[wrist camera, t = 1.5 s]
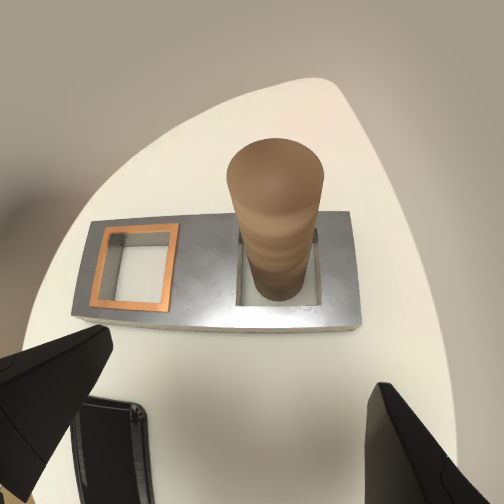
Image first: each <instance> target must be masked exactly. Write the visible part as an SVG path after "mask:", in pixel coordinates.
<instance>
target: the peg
mask: <svg viewBox="0 0 504 504" xmlns="http://www.w3.org/2000/svg"><path fill="white" fill-rule="evenodd" d="M323 181H324V171H323V167H322V164H321V162H320V160H319V159H318V157H317V156H316V155H315V154H314V153H313V152H312V151H311V150H310V149H309V148H307V147H306V146H304V145H302V144H300V143H298V142H295V141H292V140H288V139H280V138H271V139H264V140H259V141H256V142H254V143H251V144H249V145H247V146H246V147H244V148H243V149H241V150H240V151H239V152H238V153H237V154H236V155H235V156H234V157H233V158H232V160H231V162H230V164H229V166H228V169H227V184H228V187H229V191H230V195H231V199H232V202H233V206H234V210H235V213H236V217H237V221H238V224H239V228H240V232H241V235H242V239H243V243H244V246H245V250H246V254H247V257H248V261H249V265H250V268H251V272H252V276H253V279H254V283H255V286H256V288H257V290H258V291H259V293H260V294H261V295H262V296H264V297H265V298H267V299H270V300H273V301H285V300H288V299H290V298H292V297H294V296H295V295H296V294H297V293H298V292H299V291H300V289H301V287H302V285H303V281H304V277H305V272H306V268H307V263H308V258H309V254H310V249H311V244H312V239H313V234H314V229H315V224H316V219H317V214H318V208H319V203H320V198H321V192H322V187H323Z"/></svg>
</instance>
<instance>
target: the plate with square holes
mask: <svg viewBox="0 0 504 504" xmlns="http://www.w3.org/2000/svg"><path fill="white" fill-rule="evenodd" d="M312 242H314V248H315V264H316V282H317V305H318V306H240V304H241V277H242V252H243V244H244V243H243V239H242V235H241V232H240V228H239V224H238V221H237V217H236V213H224V214H200V215H179V216H161V217H145V218H130V219H117V220H104V221H92V222H91V224H90V228H89V232H88V235H87V239H86V243H85V247H84V251H83V255H82V260H81V264H80V269H79V273H78V278H77V283H76V288H75V294H74V299H73V305H72V312H71V315H72V316H74V317H77V318H79V319H82V320H84V321H87V322H94V323H102V324H111V325H120V326H130V327H141V328H153V329H167V330H183V331H203V332H232V333H302V332H331V331H351V330H355V329H356V328H358V327H359V326H361V325H362V322H361V307H360V294H359V283H358V273H357V264H356V255H355V247H354V239H353V232H352V225H351V218H350V212H349V211H318V214H317V219H316V224H315V229H314V234H313V239H312ZM156 245H169V246H168V253H167V260H166V267H165V274H164V282H163V290H162V299H161V303H143V302H125V301H114V295H115V289H116V283H117V277H118V271H119V266H120V261H121V256H122V251H123V246H156Z"/></svg>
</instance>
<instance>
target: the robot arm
mask: <svg viewBox="0 0 504 504" xmlns="http://www.w3.org/2000/svg"><path fill="white" fill-rule="evenodd" d="M112 351H113V342H112V338H111V334H110V330H109V328H108V327H106V326H103V325H95V326H92V327H89V328H87V329H84V330H81V331H78V332H76V333H73V334H70V335H67V336H64V337H62V338H59V339H56V340H53V341H50V342H47V343H45V344H42V345H39V346H36V347H33V348H30V349H27V350H25V351H22V352H19V353H18V354H17V353H16V354H13V355H10V356H7V357H4V358H1V359H0V490H1V489H2V487H5V488H6V489H7V490H8V491H10V492H11V493H12V494H13V495H15V496H16V497H17V498H19V499H20V500H21V501H23V502H24V503H26V502H27V500H28V499H29V497H30V495H31V493H32V491H33V489H34V487H35V485H36V483H37V482H38V480H39V478H40V476H41V474H42V472H43V471H44V469H45V467H46V464H47V463H48V461H49V460H50V458H51V456H52V454H53V453H54V451H55V449H56V447H57V446H58V444H59V442H60V441H61V439H62V437H63V436H64V434H65V432H66V431H67V429H68V427H69V426H70V424H71V422H72V421H73V419H74V417H75V416H76V414H77V412H78V411H79V409H80V408H81V406H82V404H83V403H84V401H85V400H86V398H87V397H88V395H89V393H90V392H91V390H92V389H93V387H94V386H95V384H96V382H97V380H98V378H99V376H100V374H101V372H102V370H103V368H104V367H105V365H106V363H107V361H108V359H109V357H110V355H111V353H112ZM0 504H4V498H3V493H1V492H0ZM365 504H490V503H489V502H488V501H487V500H486V499H485V498H484V497H483V496H482V495H481V494H480V493H479V491H478V490H477V489H476V488H475V487H474V486H473V485H472V484H471V483H470V482H469V481H468V480H467V479H466V478H465V476H464V475H463V474H462V473H461V472H460V471H459V469H458V468H457V467H456V466H455V464H454V463H453V462H452V460H451V459H450V458H449V457H447V454H446V453H445V451H444V450H443V449H442V448H441V446H440V445H439V444H438V442H437V441H436V440H435V438H434V437H433V436H432V435H431V433H430V432H429V431H428V430H427V428H426V427H425V426H424V424H423V423H422V422H421V421H420V419H419V418H418V417H417V416H416V414H415V413H414V412H413V411H412V409H411V408H410V407H409V405H408V404H407V403H406V402H405V400H404V399H403V398H402V397H401V395H400V394H399V393H398V392H397V391H396V389H395V388H394V387H393V386H392V384H390V383H387V382H378V383H377V384H376V386H375V388H374V390H373V392H372V394H371V396H370V398H369V400H368V405H367V421H366V434H365Z"/></svg>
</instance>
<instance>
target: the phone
mask: <svg viewBox="0 0 504 504" xmlns="http://www.w3.org/2000/svg"><path fill="white" fill-rule="evenodd" d="M70 432H71V443H72V453H73V461H74V468H75V475H76V481H77V487H78V492H79V498H80V502H81V504H155V503H154V496H153V488H152V480H151V470H150V460H149V448H148V433H147V417H146V413H145V411H144V409H143V408H142V407H141V406H140V405H138V404H136V403H132V402H124V401H117V400H111V399H105V398H99V397H94V396H88V397H87V398H86V400H85V401H84V403H83V404H82V406H81V408H80V409H79V411H78V412H77V414H76V416H75V417H74V419H73V421H72V422H71V424H70Z"/></svg>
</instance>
